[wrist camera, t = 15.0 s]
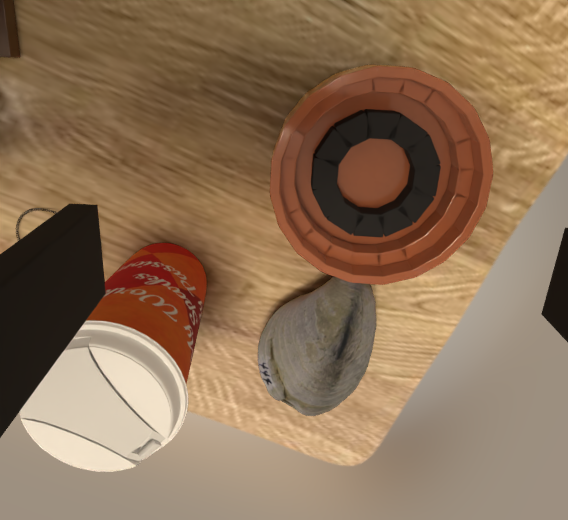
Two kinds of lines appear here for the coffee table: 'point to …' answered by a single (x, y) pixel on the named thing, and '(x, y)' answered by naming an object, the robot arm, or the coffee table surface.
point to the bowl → (381, 174)
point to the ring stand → (8, 30)
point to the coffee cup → (124, 366)
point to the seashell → (319, 346)
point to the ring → (411, 197)
